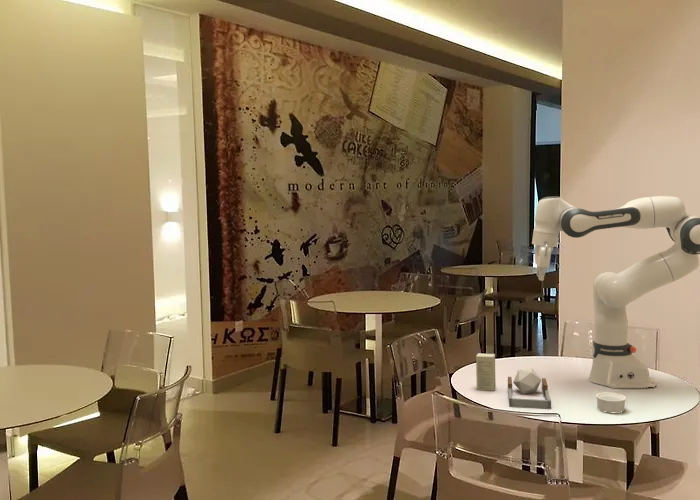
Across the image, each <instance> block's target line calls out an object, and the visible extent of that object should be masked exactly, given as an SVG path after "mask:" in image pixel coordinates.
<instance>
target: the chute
mask: <svg viewBox="0 0 700 500" xmlns="http://www.w3.org/2000/svg"><path fill="white" fill-rule="evenodd" d="M548 387H549V385H548V382H547V379H546V378H545V377H544V378H543V377H541V390H542V391H541V392H542V395H543V397H544V398H545V390H548V389H549V388H548ZM508 388H510V389H511V390H512V391H513V379H512V376H507V389H508ZM548 391H549V390H548Z"/></svg>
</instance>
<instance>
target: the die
mask: <svg viewBox="0 0 700 500" xmlns="http://www.w3.org/2000/svg"><path fill="white" fill-rule="evenodd" d="M541 383H542V377H540V376H539V375H538V374H537V372H536V371H535V370H534V369H533V368H522V369H518V370H517V372H516V375H515V377H514V379H513V381H512V384H514V385H515V386H516V387H517V388H516V389H518V390H519V392H521V394H522V395H523V394H533V393H537V390H538V389H539V386H540V384H541Z"/></svg>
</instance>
